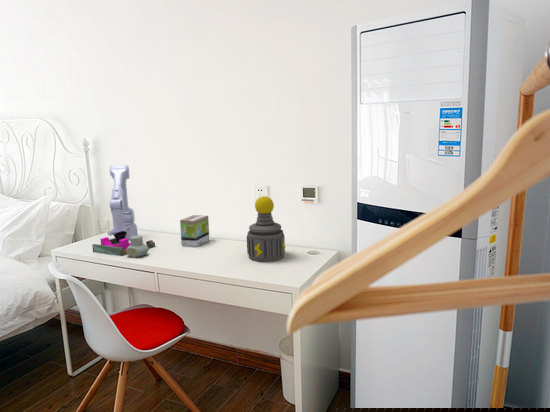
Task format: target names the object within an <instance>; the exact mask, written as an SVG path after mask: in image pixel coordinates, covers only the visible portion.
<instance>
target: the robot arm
mask: <svg viewBox="0 0 550 412" xmlns="http://www.w3.org/2000/svg"><path fill="white" fill-rule="evenodd" d="M109 174H110V176H111V178H112V179H113V182H114V183H113V184H114V185H113V186H114V187H113V188H112V189H111V200H109V208H110V213H111V214H112V215H111V216H112V217H111V218H112V224H113V225H112V226H113V229H112V230H109V231H107V237H111V236H114V237H113V238H116V240H117V242H118V244H119V240H122V239H125V237H126V239H128V241H129V240H130V238H131V237H132V236H136V235H138V225H137V224H136V223H135V220H136V219H135V212H134V209H133V208H131V207H130V206H129V201H128V190H127V189H128V188H127V180H128V179H130V168H129V165H128V164H122V165H110V166H109Z"/></svg>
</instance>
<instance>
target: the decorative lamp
mask: <svg viewBox="0 0 550 412" xmlns="http://www.w3.org/2000/svg"><path fill="white" fill-rule="evenodd" d="M274 205H275V204H274V201H273V200H272V198H271V197H269V196H266V195H265V196H259V197H258V198H257V199H256V201H255V202H254V208H255V211H256V212H257V217H256V221H255V223H252V224H250V225H249V227H248V229H249V230H248V231H247V235H246V247H247V248H246V249H247V250H246V253H247V255H248V259H250V260H251V261H254V262H260V263H263V262H267V263H269V262H274V261H278V260H280V259H282V258H284V257H285V253H286V243H285V241H286V239H285V234H284V230H283V229H282V224H280V223H278V222H276V221H274V220H273V219H274V217H273V215H272V212H273V211H274V208H275V207H274ZM268 261H269V262H268Z"/></svg>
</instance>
